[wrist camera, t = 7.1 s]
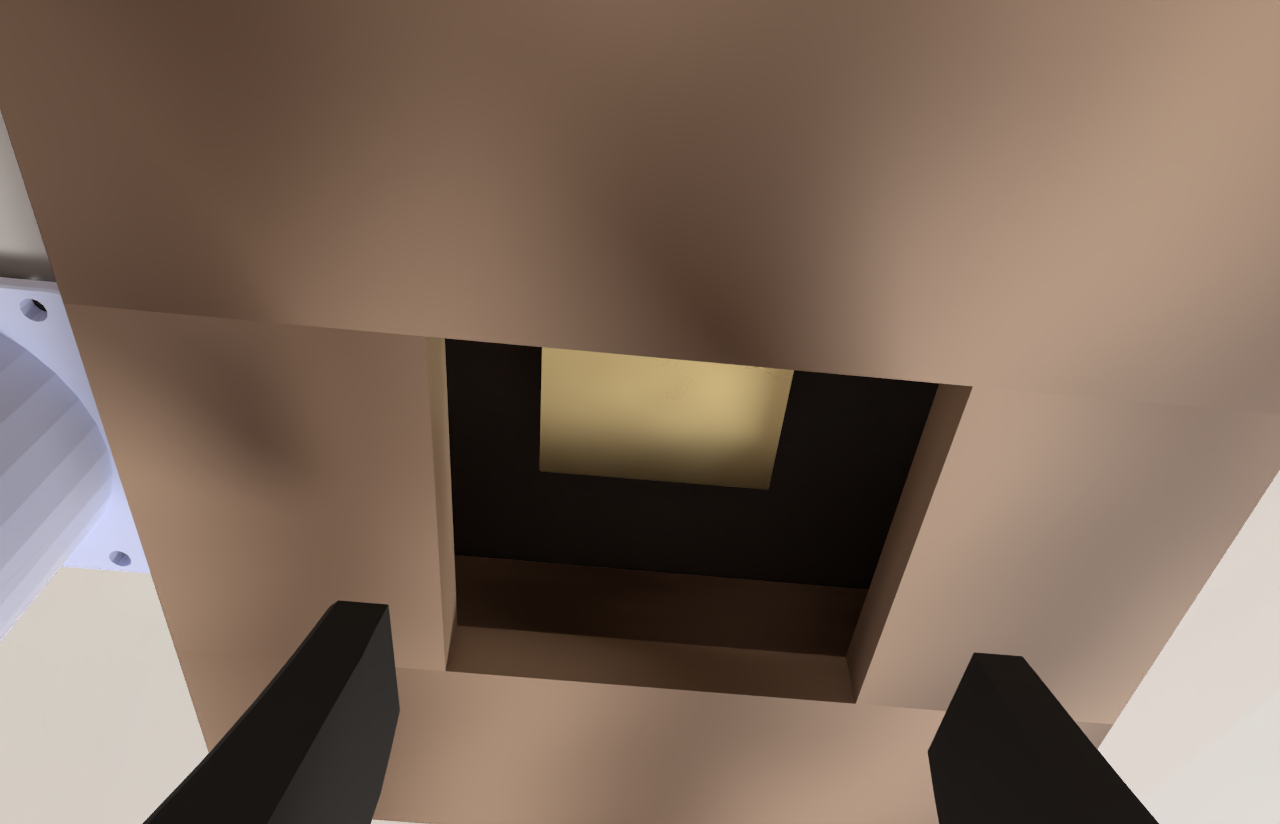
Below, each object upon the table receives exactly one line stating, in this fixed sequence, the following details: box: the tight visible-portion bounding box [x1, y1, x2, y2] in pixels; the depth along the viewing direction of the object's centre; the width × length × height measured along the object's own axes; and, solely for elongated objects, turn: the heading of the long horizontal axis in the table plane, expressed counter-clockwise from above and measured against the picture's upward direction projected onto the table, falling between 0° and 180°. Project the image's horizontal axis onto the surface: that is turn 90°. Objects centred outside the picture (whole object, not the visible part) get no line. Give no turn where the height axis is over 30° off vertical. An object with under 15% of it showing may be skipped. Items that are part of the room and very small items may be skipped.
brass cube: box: [539, 347, 794, 489], centre depth 17 cm, size 4×4×3 cm
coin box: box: [0, 0, 1280, 824], centre depth 16 cm, size 16×16×6 cm
